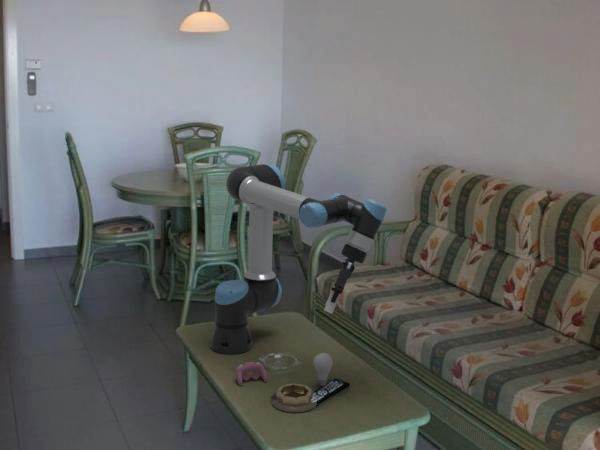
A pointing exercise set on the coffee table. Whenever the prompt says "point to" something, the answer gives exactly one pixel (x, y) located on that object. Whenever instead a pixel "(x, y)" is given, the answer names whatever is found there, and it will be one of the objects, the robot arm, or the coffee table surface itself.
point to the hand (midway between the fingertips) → (328, 309)
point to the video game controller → (247, 367)
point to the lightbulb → (322, 367)
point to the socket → (293, 398)
